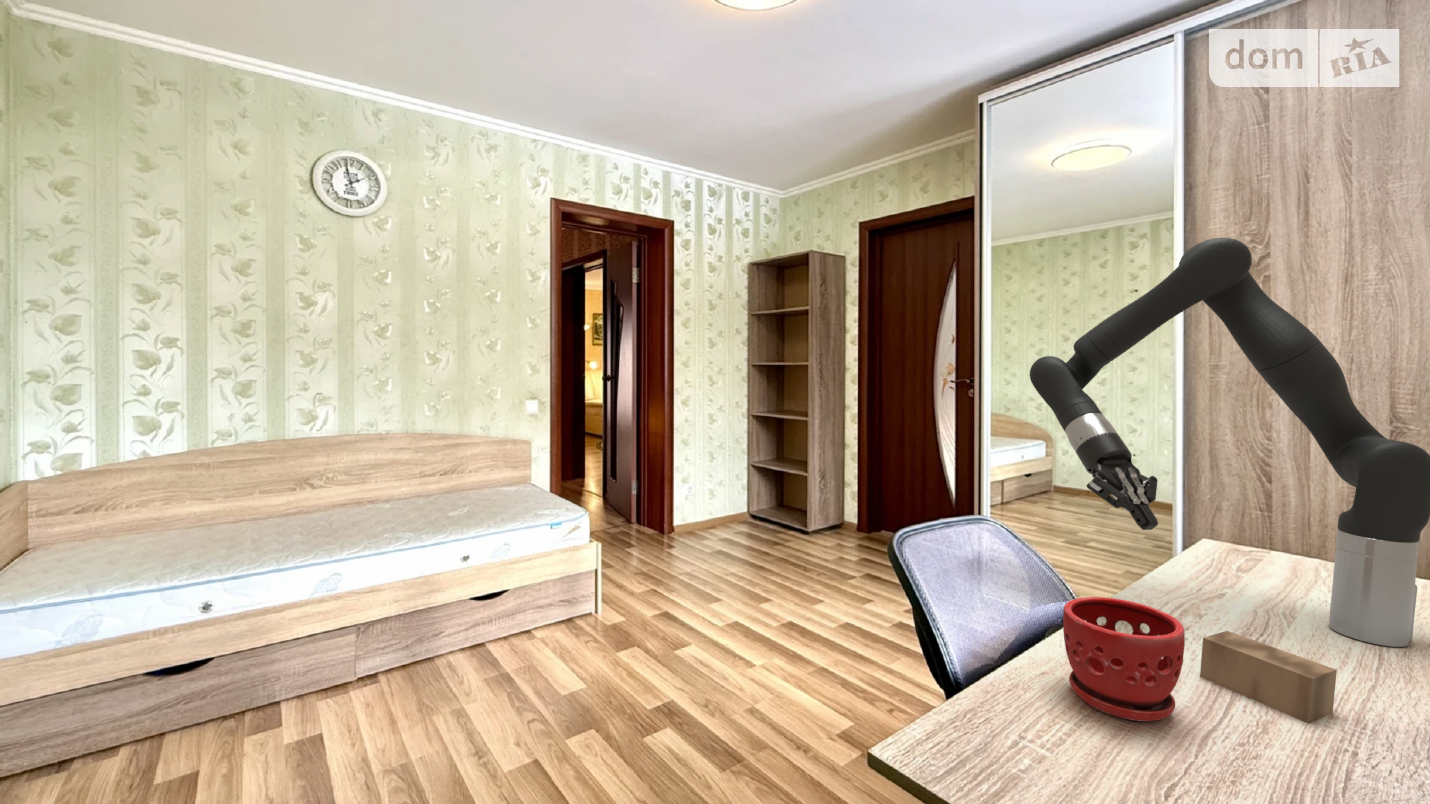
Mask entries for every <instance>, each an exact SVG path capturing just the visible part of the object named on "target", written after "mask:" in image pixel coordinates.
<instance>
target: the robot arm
mask: <svg viewBox="0 0 1430 804" xmlns="http://www.w3.org/2000/svg"><path fill="white" fill-rule="evenodd" d="M1252 261H1253V259H1252V253H1251V251H1250V248H1249V247H1248V246H1247V245H1246V244H1245V243H1243V242H1242V241H1240V240H1238V239H1235V238H1231V237H1215V238H1214V237H1213V238H1210V239H1206V240H1204V241H1201V242H1199V243H1197V244H1195V245H1193V246H1192V247H1190V248H1189V249H1187V250H1186V251H1185V252H1184V253H1183V255H1182V256H1181V257H1180V260H1179V263H1178V266H1177V267H1176V268H1175V269H1174V270H1173V271H1172V272H1170V274H1169V275H1167V277H1165V278H1164V279H1163V280H1161V282H1159V283H1158V284H1157V285H1156V286H1154V287H1153V288H1152V289H1150V290H1149V291H1148V292H1146V293H1144V294H1142V296H1140V297H1138V298H1137V299H1135V300H1134V301H1132V302H1131V303H1128V304H1127V305H1126V306H1124V307H1122V308H1121V309H1119V310H1117V311H1115V312H1113V314H1111V315H1110V316H1108V317H1107V318H1105V319H1104V320H1102V321H1101V322H1099V323H1098V324H1097V325H1096V326H1094V327H1092V328H1091V329H1090V330H1088V331H1087V332H1086V333H1085V334H1083V335H1081V336H1080V337H1079V338H1078V339H1077V340H1075V342H1074V343H1073V351H1074V354H1073V355H1072V356H1071V357H1070V358H1069V359H1068V360H1067V361H1066V362H1065V361H1064V360H1063V359H1061V358H1060V357H1058V356H1053V355H1046V356H1042V357H1040V358H1038V359H1036V360H1035V361H1034V362H1033V363H1032V364H1031V366H1030V370H1029V379H1030V383H1031V384H1032V386H1033V387H1034V389H1035V390H1036V392H1037V393H1038V395H1040V397H1041V398H1042V400H1043V401H1044V402H1045V403H1046V405H1048V407H1049V408H1050V409H1051V411H1052V412H1053V414H1054V416H1055V417H1056V420H1057V421H1058V423H1059V425H1060V426H1061V428H1062V430H1063V432H1064V433H1065V434H1066V437H1067V439H1068V441H1069V444H1070V446H1071V447H1072V449H1073V450H1074V452H1075V454H1076V456H1077V457H1078V459H1079V460H1080V462H1081V464H1082V465H1083V466H1084V468H1085V470H1086V472H1087V473H1089V474H1090V475H1091V476H1092V479H1091V480H1090V481H1089V482H1087V484H1086V487H1087V489H1088V490H1090V491H1091V492H1092V493H1094V494H1095V495H1097V496H1098V497H1099V498H1101V499H1103V500H1104V501H1106V502H1107V503H1108V504H1110V505H1111V506H1112V507H1113V508H1115V509H1121V508H1122V509H1124V510H1125V511H1127V512H1129V514H1130V516H1131V517H1132V519H1133V521H1134V522H1135V523H1136V524H1137V526H1138V527H1139V528H1140V529H1141V530H1142V531H1151V530H1153V529H1154V528H1156V527H1157V526H1158V525H1159V522H1158V518H1157V517H1156V516H1155V514H1154V512H1153V511H1152V509H1151V508H1150V506H1149V505H1150V504H1152V503H1153V502H1155V501H1156V500H1157V499H1156V498H1157V490H1158V478H1157V477H1156V476H1154V475H1151V476H1149V477H1147V476H1146V475H1143V474H1141V471H1140V470H1139V468H1138V467H1136V466H1135V465H1134V464H1133V463H1132V456H1133V455H1132V452H1131V450H1129V447H1128V446H1127V445H1126V444H1125V442H1124V441H1123V439H1122V437H1121V436H1120V434H1119V433H1118V432H1117V431H1116V429H1115V427H1114V426H1113V425H1112V424H1111V422H1110V421H1109V420H1108V419H1107V418H1106V416H1104V414H1103V413H1102V411H1101V410H1100V408H1099V407H1098V405H1097V404H1096V402H1095V401H1094V399H1092V397H1091V396H1089V395H1088V394H1087V393H1086V392H1085V391H1084V390H1083V389H1084V388H1085V387H1086V386H1088V384H1090V382H1091V381H1092V380H1093V379H1094V378H1095V377H1096V376H1097V375H1098V374H1099V373H1100V371H1101V370H1102V369H1103V368H1104V367H1105V366H1107V365H1108V364H1110V363H1111V362H1112V361H1114V360H1116V359H1117V358H1119V357H1120V356H1121V355H1123V354H1125V353H1126V352H1128V350H1130V349H1132V348H1133V347H1134V346H1136V345H1137V344H1138V343H1140V342H1141V341H1142V340H1144V339H1145V338H1146V337H1148V336H1149V335H1150V334H1152V333H1153V332H1155V331H1156V330H1157V329H1159V328H1161V326H1163V325H1164V324H1166V323H1167V322H1168V321H1170V320H1172V319H1173V318H1175V317H1176V316H1177V315H1178V316H1179V314H1181V313H1183V312H1185V311H1186V310H1188V309H1190V308H1191V307H1193V306H1194V305H1196V304H1199V303H1200V302H1204V304H1205V305H1207V306H1208V308H1209V309H1211V310H1212V311H1213V312H1214V314H1215V315H1216V316H1217V317H1218V318H1219V319H1220V320H1221V322H1223V324H1224V325H1225V327H1226V329H1227V330H1228V331H1229V333H1230V335H1231V337H1232V338H1233V340H1234V341H1235V342H1236V344H1237V345H1238V347H1239V348H1240V349H1241V352H1242V353H1243V354H1244V355H1245V356H1246V358H1247V360H1248V361H1249V362H1250V363H1251V365H1252V366H1253V368H1254V369H1255V370H1256V371H1257V373H1258V374H1259V375H1260V377H1262V378H1263V380H1264V381H1265V382H1266V383H1267V385H1268V386H1269V387H1270V388H1271V389H1272V390H1273V392H1275V393H1276V394H1277V396H1278V397H1279V398H1280V400H1281V401H1282V402H1283V403H1284V404H1285V405H1286V407H1288V408H1289V410H1290V411H1291V412H1292V413H1293V415H1294V416H1295V417H1297V418H1298V420H1299V421H1301V422H1302V424H1303V425H1304V426H1305V428H1306V429H1307V430H1308V431H1309V433H1310V435H1312V437H1313V438H1314V440H1315V441H1316V443H1317V445H1318V446H1319V448H1320V449H1321V451H1322V452H1323V454H1324V455H1325V457H1326V458H1327V459H1326V460H1327V461H1328V462H1329V464H1330V465H1331V466H1332V468H1333V470H1334V471H1335V472H1336V474H1337V475H1338V476H1339V477H1340V478H1341V480H1343V481H1344V482H1345V483H1347V484H1348V485H1350V486H1352V487H1353V488H1355V491H1354V496H1353V503H1352V505H1351V507H1350V509H1349V510H1348V509H1347V510H1346V511H1342V512H1341V513H1340V514H1339V515H1338V519H1337V530H1336V531H1337V532H1336V541H1335V555H1334V565H1333V575H1332V585H1331V597H1330V598H1331V599H1330V608H1329V615H1328V616H1329V617H1328V627H1329V628H1330V629H1332V630H1333V631H1335V632H1337V633H1338V634H1341V635H1344V636H1346V637H1348V638H1352V639H1354V640H1358V641H1362V642H1365V643H1369V644H1374V645H1377V646H1385V647H1397V648H1404V647H1408V646H1409V645H1410V642H1412V641H1413V633H1414V627H1415V623H1414V622H1415V615H1416V613H1415V612H1416V608H1417V607H1416V606H1417V595H1418V586H1417V584H1416V581H1417V580H1416V579H1417V578H1416V577H1417V569H1418V556H1419V545H1420V539H1421V533H1422V531H1423V530H1424V529H1425V527H1426V526H1427V525H1428V523H1429V521H1430V454H1429V452H1427V451H1426V450H1425V449H1423V448H1422V447H1420V446H1418V445H1415V444H1413V443H1409V442H1406V441H1402V440H1401V441H1400V440H1397V439H1396V440H1395V439H1389V438H1387V437H1385V436H1384V435H1382V433H1380V432H1379V430H1378V429H1376V428H1375V427H1374V426H1373V425H1372V424H1371V422H1370V421H1368V419H1366V418H1365V416H1364V415H1363V414H1362V413H1361V412H1360V410H1359V409H1358V408H1357V406H1356V404H1355V403H1354V402H1353V399H1352V397H1351V395H1350V394H1351V393H1350V390H1349V387H1348V384H1347V381H1346V376H1345V374H1344V372H1343V369H1342V367H1341V366H1340V364H1339V363H1338V361H1337V359H1336V358H1335V357H1334V356H1333V355H1332V353H1331V352H1330V351H1329V349H1328V348H1327V347H1326V346H1325V345H1324V344H1323V343H1322V341H1321V340H1320V339H1319V338H1318V337H1317V336H1316V335H1315V334H1314V333H1313V331H1311V330H1310V329H1309V328H1308V327H1307V326H1306V325H1304V324H1303V323H1302V322H1301V321H1299V320H1298V319H1297V318H1296V317H1294V316H1293V315H1292V314H1290V313H1289V312H1288V311H1286V310H1285V309H1284V308H1283V307H1282V306H1281V305H1279V304H1277V303H1276V302H1275V301H1274V300H1272V298H1270V297H1269V296H1268V295H1267V293H1266V292H1264V290H1263V289H1262V288H1261V287H1260V285H1259V283H1258V282H1257V280H1255V279H1254V277H1253V276H1252V273H1250V269H1251V266H1252Z"/></svg>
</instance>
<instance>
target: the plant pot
mask: <svg viewBox="0 0 1430 804" xmlns="http://www.w3.org/2000/svg"><path fill="white" fill-rule="evenodd" d="M1062 618H1063V622H1062V624H1063V625H1062V626H1063V628H1062V629H1063V639H1064V646H1065V651H1066V652H1065V653H1066V656H1067V659H1068V662H1069V665H1070V667H1071V669H1072V671H1071V672H1070V673H1069V675H1068V681H1069V684H1070V686H1071V689H1072V690H1073V691H1074V693H1076V695H1078V697H1079V698H1080V699H1082V700H1083V701H1084V702H1085V703H1087V704H1088V705H1089V706H1091V707H1093V708H1094V709H1095V710H1096V709H1097V710H1099V711H1100V712H1103V713H1106V714H1108V715H1110V716H1111V715H1112V716H1114V717H1117V718H1120V719H1121V718H1122V719H1126V720H1131V721H1132V722H1155V721H1159V720H1162V719H1166V718H1167V717H1169V716H1171V714H1173V712H1174V710H1175V708H1176V699H1175V698H1174V696H1173V695H1172V692H1173V690H1174V689H1175V687H1176V685H1177V683H1178V681H1179V679H1180V676H1181V672H1182V667H1183V663H1184V653H1185V647H1186V645H1185V643H1186V642H1185V641H1186V640H1185V639H1186V638H1185V635H1186V634H1185V628H1184V626H1183V624H1182V623H1181V622H1180V620H1178V619H1177V618H1175V617H1174V616H1172V615H1171V614H1168V613H1166V612H1164V611H1162V610H1159V609H1157V608H1155V607H1152V606H1149V605H1146V604H1142V603H1139V602H1135V601H1130V600H1125V599H1120V598H1112V597H1104V596H1103V597H1101V596H1089V597H1088V596H1087V597H1086V596H1085V597H1079V598H1075V599H1071V600H1069V601H1068V602H1066V603H1065V604H1064V606H1063V617H1062ZM1099 618H1103V619H1105V621H1106V622H1105V623H1104V624H1099V623H1098V619H1099ZM1121 621H1122V622H1126V623H1127V624H1129V626H1131V629H1132V633H1126V632H1125V633H1124V632H1120V631H1118V630H1117V629H1116V625H1117V623H1118V622H1121ZM1142 624H1145V625H1146V626H1147V627H1148V628H1149V629H1148V630H1149V632H1144V631H1142V628H1141V625H1142Z"/></svg>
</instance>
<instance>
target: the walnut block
mask: <svg viewBox="0 0 1430 804" xmlns="http://www.w3.org/2000/svg"><path fill="white" fill-rule="evenodd" d="M1337 671H1338V670H1337V669H1336V668H1334V667H1333V668H1332V667H1331V666H1327V665H1325V664H1322V663H1318V662H1316V661H1313V660H1310V659H1308V658H1305V657H1301V656H1299V655H1296V654H1294V653H1291V652H1288V651H1285V650H1282V649H1280V648H1277V647H1274V646H1270V645H1268V644H1266V643H1262V642H1259V641H1257V640H1253V639H1252V638H1248V637H1245V636H1242V635H1241V634H1238V633H1235V632H1231V631H1228V630H1225V631H1222V632H1217V633H1215V634H1211V635H1206V636H1204V637H1202V645H1201V659H1200V671H1199V677H1200V678H1202V679H1204V680H1206V681H1209V682H1211V683H1212V684H1213V683H1214V684H1215V685H1218V686H1220V687H1222V688H1225V689H1228V690H1229V691H1232V692H1234V693H1236V694H1239V695H1240V696H1243V697H1246V698H1248V699H1251V700H1253V701H1256V702H1257V703H1260V704H1262V705H1264V706H1267V707H1270V708H1272V709H1274V710H1277V711H1279V712H1281V713H1284V714H1286V715H1288V716H1290V717H1293V718H1295V719H1298V720H1300V721H1301V722H1304V723H1306V724H1311V723H1314V722H1315V721H1317V720H1320V719H1322V718H1324V717H1327V716H1330V715H1332V714H1333V713H1334V703H1335V702H1334V701H1335V692H1336V691H1335V690H1336V680H1337Z"/></svg>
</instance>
